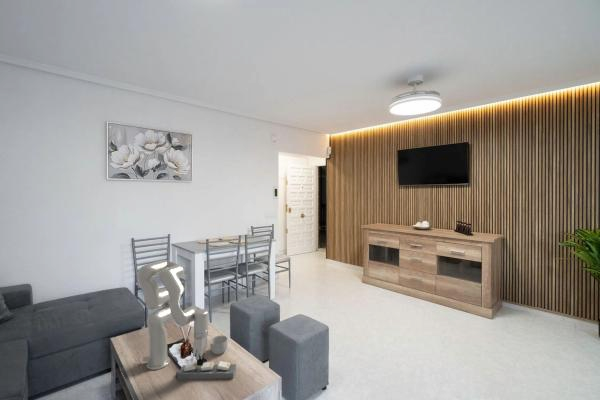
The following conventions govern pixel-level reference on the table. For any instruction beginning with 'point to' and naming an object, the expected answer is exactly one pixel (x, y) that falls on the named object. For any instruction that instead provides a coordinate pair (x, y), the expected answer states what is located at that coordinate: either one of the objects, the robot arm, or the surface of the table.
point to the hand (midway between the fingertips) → (200, 364)
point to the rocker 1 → (190, 366)
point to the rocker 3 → (223, 365)
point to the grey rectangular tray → (207, 373)
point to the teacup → (218, 344)
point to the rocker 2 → (207, 366)
